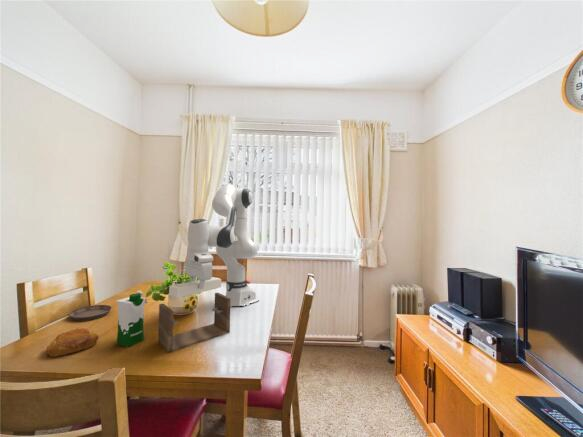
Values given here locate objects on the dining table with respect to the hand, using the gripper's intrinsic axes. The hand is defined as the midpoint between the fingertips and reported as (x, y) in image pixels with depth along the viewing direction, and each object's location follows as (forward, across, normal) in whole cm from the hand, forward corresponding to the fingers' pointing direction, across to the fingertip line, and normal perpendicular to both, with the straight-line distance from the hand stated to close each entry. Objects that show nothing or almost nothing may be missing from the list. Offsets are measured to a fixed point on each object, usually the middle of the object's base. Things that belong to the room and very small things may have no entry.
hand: (196, 286), depth 113 cm
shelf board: (+2, 0, 0) cm, 2 cm away
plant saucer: (+23, -60, -30) cm, 71 cm away
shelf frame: (+22, 0, 0) cm, 22 cm away
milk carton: (+22, -14, -22) cm, 34 cm away
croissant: (+23, -24, -40) cm, 51 cm away
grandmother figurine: (+22, -46, -11) cm, 52 cm away
